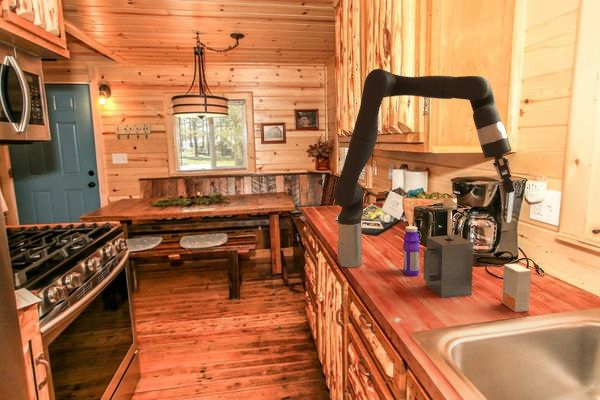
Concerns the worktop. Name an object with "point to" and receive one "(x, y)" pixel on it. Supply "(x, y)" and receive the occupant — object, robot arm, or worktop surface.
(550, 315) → the worktop surface
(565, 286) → the worktop surface
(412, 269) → the bottle
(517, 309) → the skincare box
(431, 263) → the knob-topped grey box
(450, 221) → the plunger
